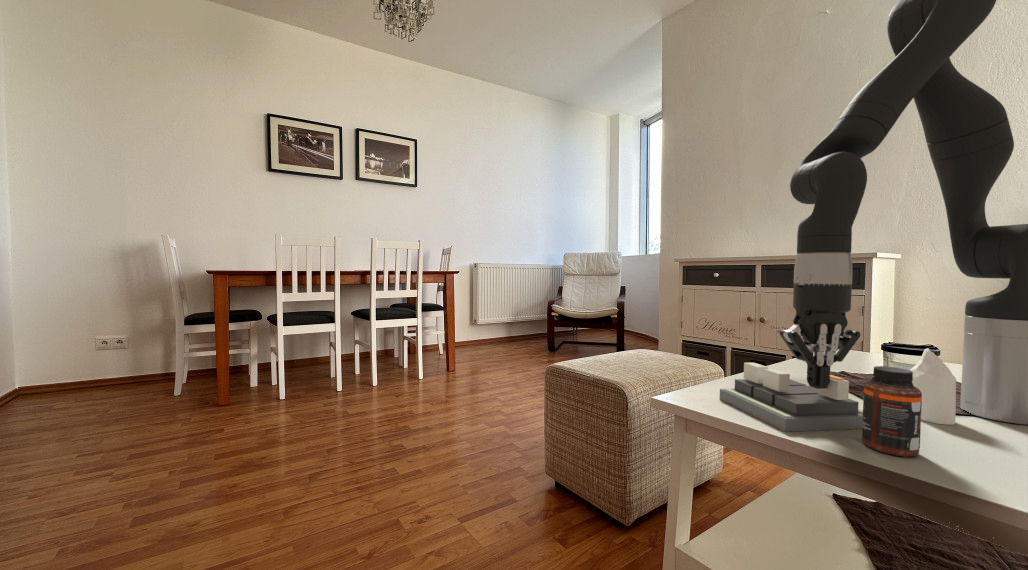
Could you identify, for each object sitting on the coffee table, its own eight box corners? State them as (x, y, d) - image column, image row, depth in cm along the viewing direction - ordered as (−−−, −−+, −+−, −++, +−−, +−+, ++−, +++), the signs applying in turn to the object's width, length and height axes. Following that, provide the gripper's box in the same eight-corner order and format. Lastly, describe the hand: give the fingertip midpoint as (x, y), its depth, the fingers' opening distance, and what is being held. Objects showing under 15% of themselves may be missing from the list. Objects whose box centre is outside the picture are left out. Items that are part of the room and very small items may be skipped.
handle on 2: (773, 385, 73) (773, 368, 72) (789, 391, 69) (789, 373, 69) (762, 385, 72) (763, 368, 72) (778, 391, 69) (779, 374, 69)
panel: (794, 397, 80) (795, 377, 80) (876, 428, 64) (877, 403, 64) (719, 399, 78) (720, 378, 78) (785, 431, 62) (786, 406, 62)
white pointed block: (969, 353, 65) (927, 351, 66) (965, 426, 65) (924, 423, 67) (939, 346, 71) (901, 344, 72) (936, 414, 71) (898, 411, 73)
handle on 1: (753, 378, 77) (753, 362, 77) (767, 383, 74) (767, 367, 74) (743, 378, 77) (744, 362, 77) (757, 383, 74) (757, 367, 74)
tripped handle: (828, 392, 68) (828, 373, 68) (848, 399, 65) (849, 379, 65) (817, 393, 68) (818, 373, 68) (837, 399, 64) (838, 379, 64)
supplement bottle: (932, 461, 53) (936, 375, 53) (879, 456, 54) (883, 372, 54) (898, 442, 59) (902, 365, 58) (851, 438, 60) (855, 362, 60)
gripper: (837, 281, 70) (833, 380, 71) (767, 280, 68) (763, 382, 69) (881, 282, 63) (876, 393, 63) (804, 281, 61) (800, 395, 62)
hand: (817, 387), depth 66 cm, fingers closed
